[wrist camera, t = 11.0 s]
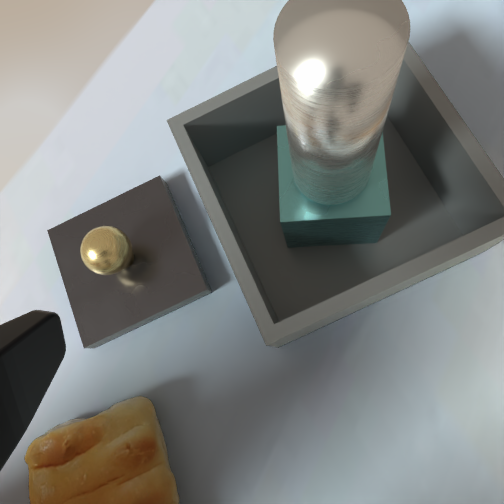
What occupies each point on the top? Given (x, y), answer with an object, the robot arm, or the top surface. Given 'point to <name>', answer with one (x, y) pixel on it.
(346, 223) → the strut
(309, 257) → the bin
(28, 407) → the robot arm
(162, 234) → the stud stand
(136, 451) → the pastry
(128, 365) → the top surface
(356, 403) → the top surface
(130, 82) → the top surface
